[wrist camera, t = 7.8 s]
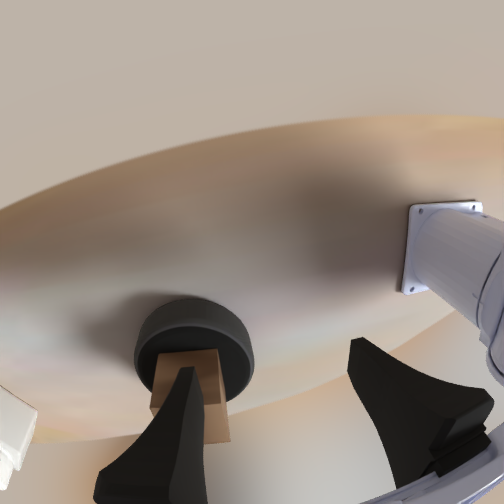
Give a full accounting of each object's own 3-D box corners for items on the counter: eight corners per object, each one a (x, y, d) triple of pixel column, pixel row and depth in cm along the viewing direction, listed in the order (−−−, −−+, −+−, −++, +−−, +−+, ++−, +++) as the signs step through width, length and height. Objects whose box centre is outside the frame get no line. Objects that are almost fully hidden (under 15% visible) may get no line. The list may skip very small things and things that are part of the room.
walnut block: (217, 348, 19) (221, 403, 15) (224, 388, 21) (230, 441, 16) (158, 353, 19) (149, 408, 14) (172, 393, 20) (168, 445, 16)
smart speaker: (161, 385, 25) (157, 418, 21) (125, 304, 22) (112, 334, 18) (256, 370, 26) (264, 402, 22) (238, 283, 22) (244, 311, 19)
